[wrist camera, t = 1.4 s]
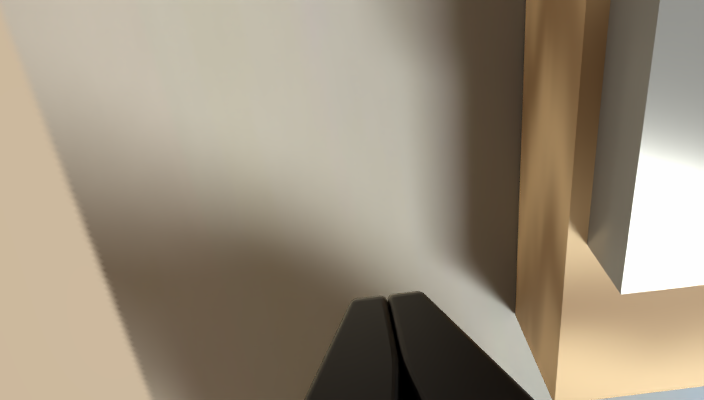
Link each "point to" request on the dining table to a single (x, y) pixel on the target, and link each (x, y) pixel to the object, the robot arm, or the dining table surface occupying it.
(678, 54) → the pale grey box
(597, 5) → the deck
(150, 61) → the dining table surface
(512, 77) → the dining table surface
